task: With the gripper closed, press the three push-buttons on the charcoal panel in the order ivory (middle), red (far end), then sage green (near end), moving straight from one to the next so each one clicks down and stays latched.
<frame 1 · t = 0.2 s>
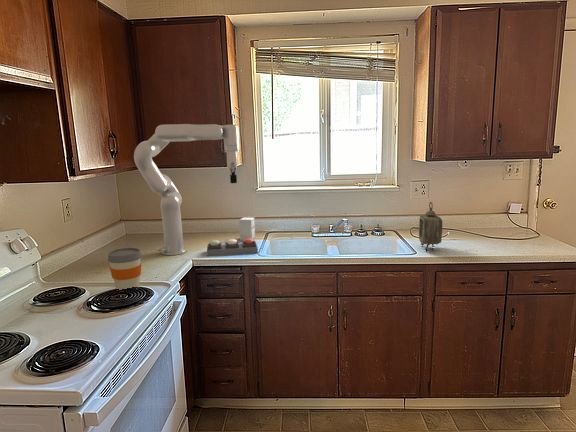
hand: (233, 182, 213), 36 cm above the worktop, tool pointing down, fingers open, 9 cm apart
ivory button: (231, 242, 214), point 5 cm above the worktop, slide at 0.0 cm
supplement box: (247, 239, 241), on the worktop
red button: (249, 241, 215), point 5 cm above the worktop, slide at 0.0 cm
dark metal lantern: (429, 249, 213), on the worktop
reusable coffee cup: (127, 287, 166), on the worktop
button panel: (232, 251, 215), on the worktop
sage button: (214, 243, 212), point 5 cm above the worktop, slide at 0.0 cm
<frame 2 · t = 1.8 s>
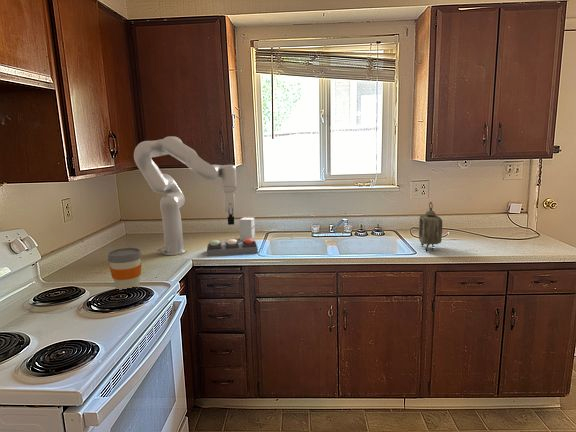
hand: (231, 224, 212), 15 cm above the worktop, tool pointing down, fingers closed
nothing on the worktop moved.
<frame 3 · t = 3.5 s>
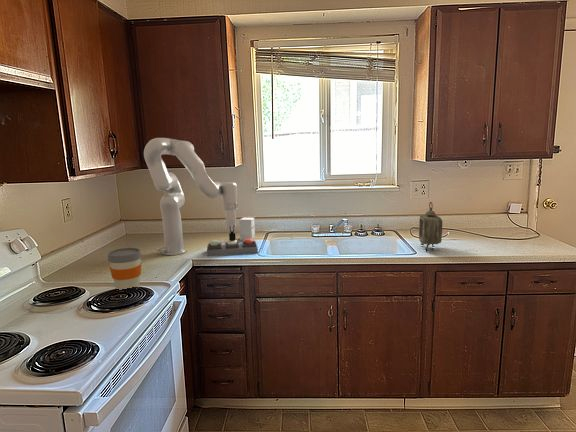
hand: (232, 240, 213), 6 cm above the worktop, tool pointing down, fingers closed
ivory button: (231, 242, 214), point 5 cm above the worktop, slide at 0.1 cm, touching gripper
everything else where it was.
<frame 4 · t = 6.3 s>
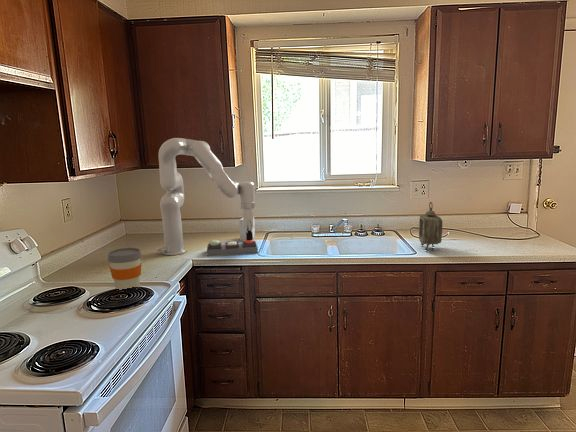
hand: (249, 239, 215), 6 cm above the worktop, tool pointing down, fingers closed
ivory button: (232, 244, 214), point 4 cm above the worktop, slide at 1.3 cm, touching button panel
red button: (249, 241, 215), point 5 cm above the worktop, slide at 0.2 cm, touching gripper
everything else where it was.
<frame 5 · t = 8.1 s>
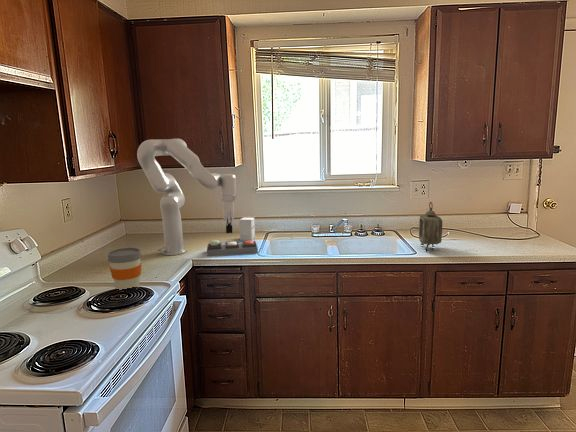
hand: (229, 232, 212), 10 cm above the worktop, tool pointing down, fingers closed
red button: (249, 243, 215), point 4 cm above the worktop, slide at 1.3 cm, touching button panel
everything else where it was.
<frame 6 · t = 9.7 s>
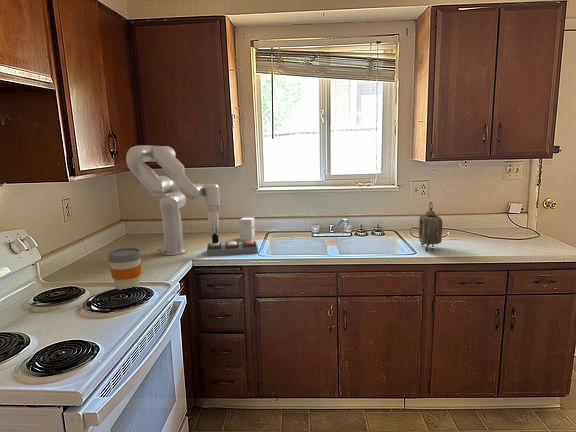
hand: (215, 242, 212), 6 cm above the worktop, tool pointing down, fingers closed
sage button: (214, 244, 212), point 5 cm above the worktop, slide at 0.7 cm, touching gripper
everything else where it was.
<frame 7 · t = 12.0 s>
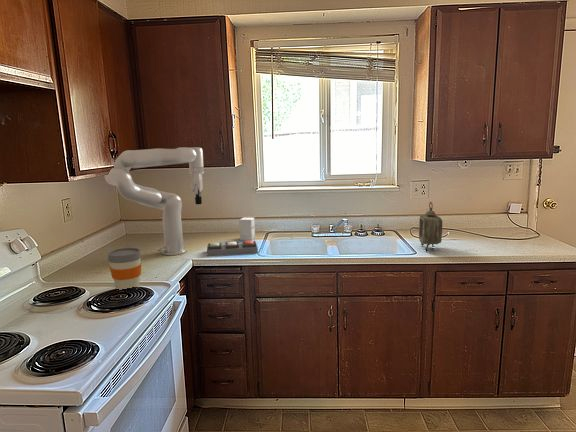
hand: (198, 203, 223), 24 cm above the worktop, tool pointing down, fingers closed
sage button: (214, 245, 212), point 4 cm above the worktop, slide at 1.3 cm, touching button panel
everything else where it was.
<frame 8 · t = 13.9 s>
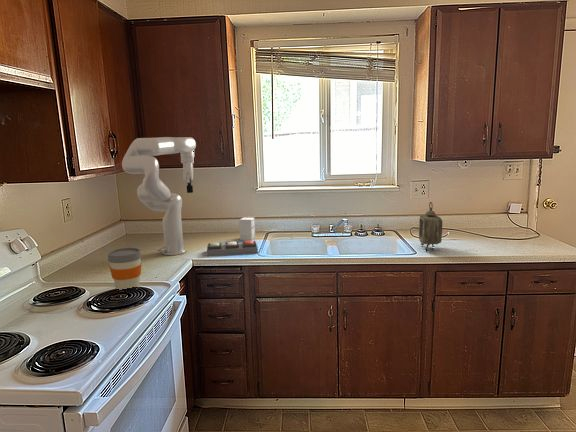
hand: (190, 192, 231), 29 cm above the worktop, tool pointing down, fingers closed
nothing on the worktop moved.
at the end: ivory button slide at 1.3 cm; red button slide at 1.3 cm; sage button slide at 1.3 cm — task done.
